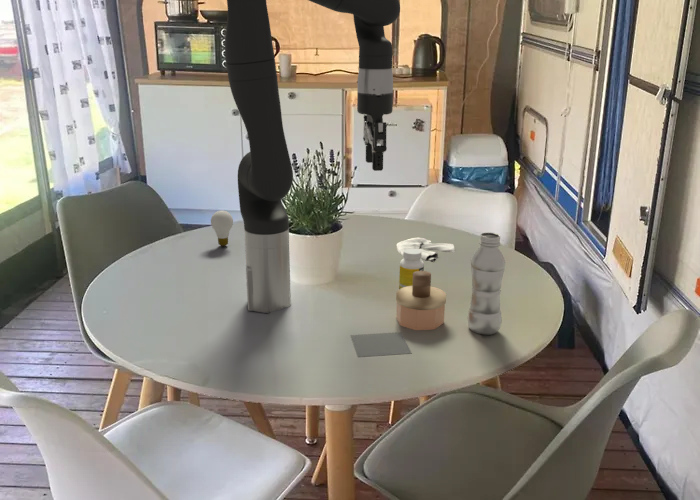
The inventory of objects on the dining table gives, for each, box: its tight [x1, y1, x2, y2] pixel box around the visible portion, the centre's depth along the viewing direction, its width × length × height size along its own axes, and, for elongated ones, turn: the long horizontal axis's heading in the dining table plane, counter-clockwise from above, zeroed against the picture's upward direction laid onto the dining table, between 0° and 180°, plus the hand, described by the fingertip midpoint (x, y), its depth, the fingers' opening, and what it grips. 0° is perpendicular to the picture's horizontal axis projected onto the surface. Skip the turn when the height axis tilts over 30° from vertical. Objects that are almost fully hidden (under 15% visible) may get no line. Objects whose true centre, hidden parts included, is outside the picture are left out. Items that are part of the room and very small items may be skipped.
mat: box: [350, 331, 412, 358], centre depth 128 cm, size 10×9×1 cm
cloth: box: [396, 237, 456, 263], centre depth 181 cm, size 20×22×2 cm
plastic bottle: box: [466, 232, 506, 336], centre depth 132 cm, size 6×7×20 cm
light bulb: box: [210, 210, 234, 248], centre depth 183 cm, size 6×6×10 cm
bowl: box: [395, 301, 446, 331], centre depth 138 cm, size 9×9×5 cm
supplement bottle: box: [398, 249, 425, 290], centre depth 153 cm, size 5×5×10 cm
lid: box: [395, 270, 447, 310], centre depth 136 cm, size 10×10×6 cm
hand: (374, 166), depth 149 cm, fingers open, 8 cm apart
